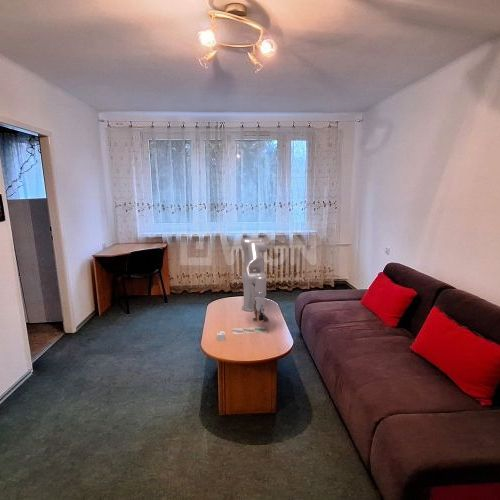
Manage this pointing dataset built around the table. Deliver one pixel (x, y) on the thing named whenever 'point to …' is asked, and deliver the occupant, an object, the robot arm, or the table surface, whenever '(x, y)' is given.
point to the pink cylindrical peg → (258, 317)
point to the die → (221, 336)
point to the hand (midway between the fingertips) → (260, 318)
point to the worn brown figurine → (256, 314)
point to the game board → (249, 330)
